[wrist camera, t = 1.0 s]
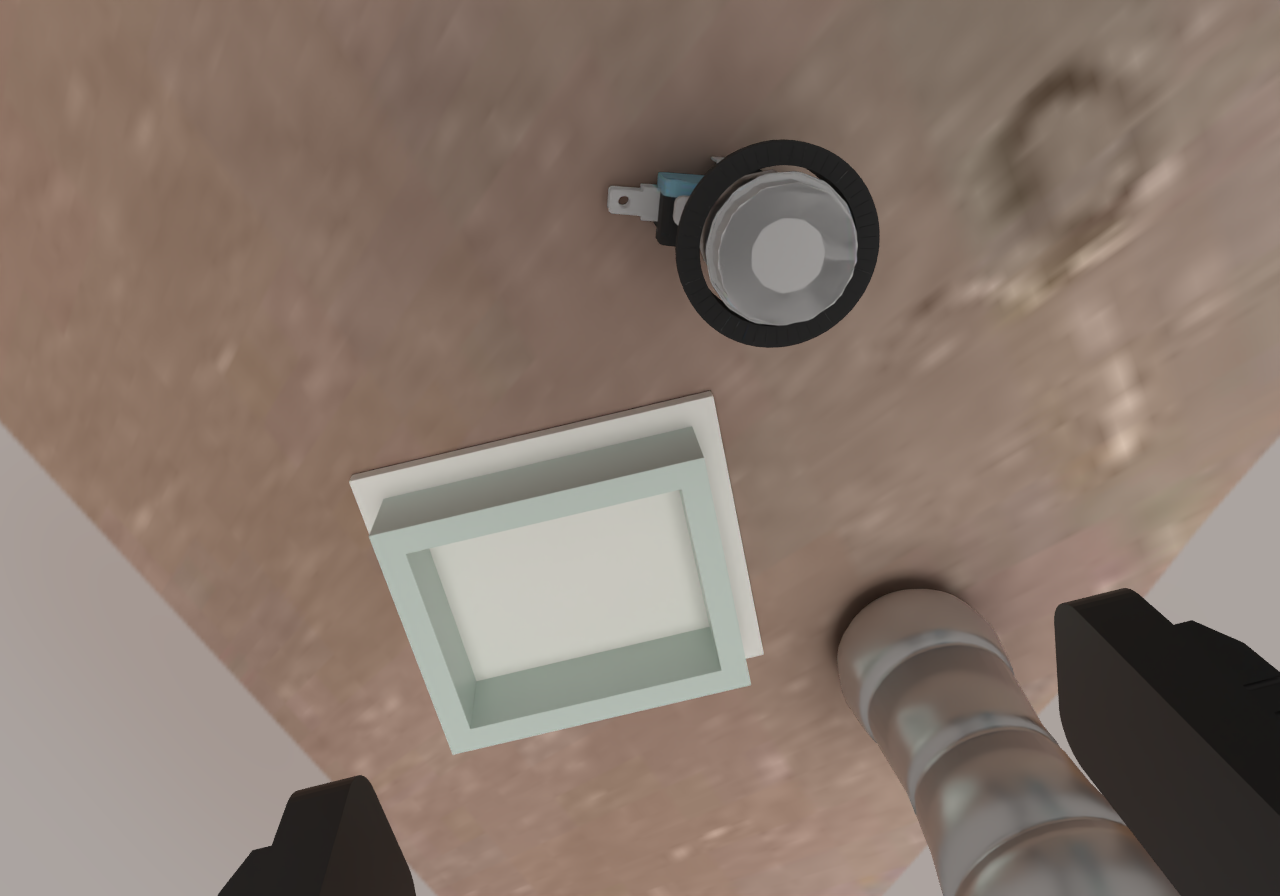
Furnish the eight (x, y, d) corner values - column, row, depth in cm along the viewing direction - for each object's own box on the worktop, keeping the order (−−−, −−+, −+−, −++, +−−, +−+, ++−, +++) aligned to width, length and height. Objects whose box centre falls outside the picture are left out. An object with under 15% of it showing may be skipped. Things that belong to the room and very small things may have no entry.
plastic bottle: (969, 684, 41) (1304, 1183, 23) (821, 702, 41) (1041, 1223, 22) (979, 560, 39) (1365, 1008, 20) (822, 578, 38) (1070, 1050, 20)
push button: (601, 269, 32) (620, 349, 23) (612, 110, 30) (637, 129, 21) (783, 281, 33) (871, 363, 24) (806, 128, 31) (911, 153, 22)
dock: (352, 474, 35) (330, 518, 31) (710, 390, 35) (727, 425, 31) (445, 719, 39) (435, 779, 36) (761, 646, 39) (779, 699, 36)
